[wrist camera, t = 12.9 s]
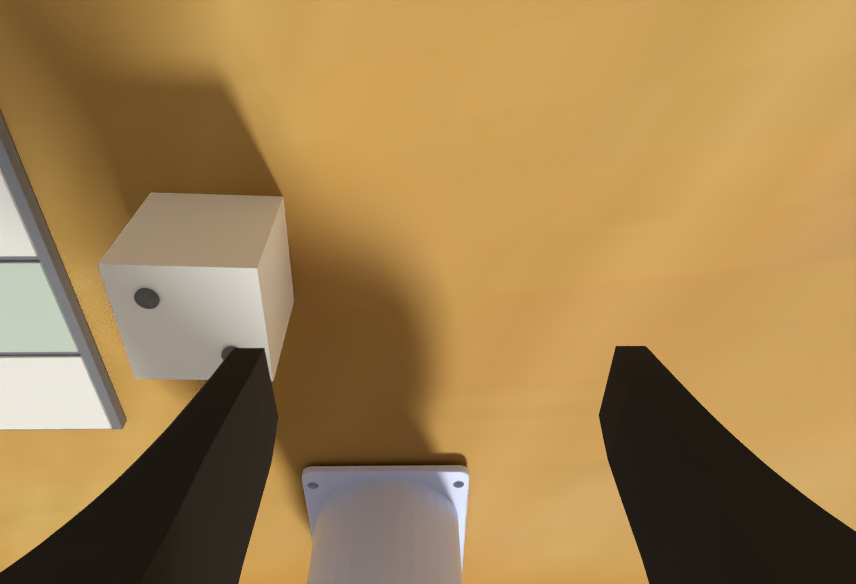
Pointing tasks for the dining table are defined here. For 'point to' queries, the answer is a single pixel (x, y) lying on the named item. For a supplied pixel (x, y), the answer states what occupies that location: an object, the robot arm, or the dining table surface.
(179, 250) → the die
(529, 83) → the dining table surface
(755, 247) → the dining table surface
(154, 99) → the dining table surface
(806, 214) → the dining table surface
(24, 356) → the board
